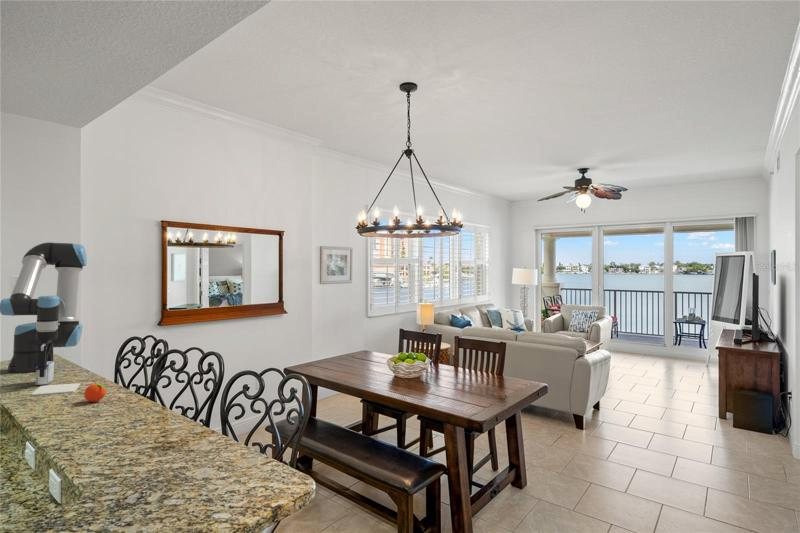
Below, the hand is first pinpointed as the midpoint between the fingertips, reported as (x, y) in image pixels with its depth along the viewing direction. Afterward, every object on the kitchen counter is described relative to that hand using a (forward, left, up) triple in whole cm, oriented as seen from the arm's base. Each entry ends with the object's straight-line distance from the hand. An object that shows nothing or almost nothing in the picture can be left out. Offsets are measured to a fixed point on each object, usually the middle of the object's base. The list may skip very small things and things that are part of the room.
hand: (44, 381), depth 189 cm
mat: (+13, +7, -1) cm, 15 cm away
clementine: (+38, +24, -1) cm, 45 cm away
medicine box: (0, 0, -1) cm, 1 cm away
